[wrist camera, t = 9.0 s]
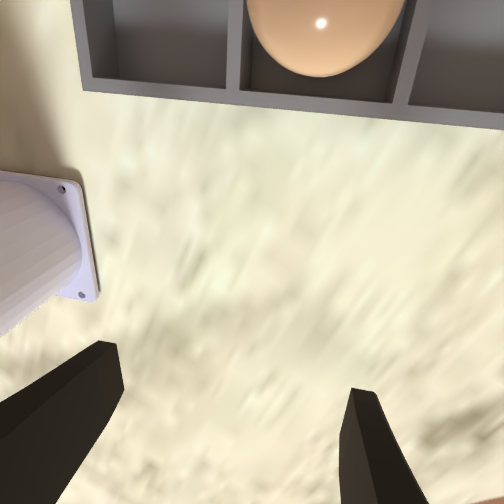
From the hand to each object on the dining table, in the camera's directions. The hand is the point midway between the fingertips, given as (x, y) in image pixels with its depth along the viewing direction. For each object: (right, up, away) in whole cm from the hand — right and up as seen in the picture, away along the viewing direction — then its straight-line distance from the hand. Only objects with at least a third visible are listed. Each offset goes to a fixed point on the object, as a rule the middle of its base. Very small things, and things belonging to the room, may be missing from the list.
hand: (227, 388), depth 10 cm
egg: (+3, +13, +2) cm, 14 cm away
